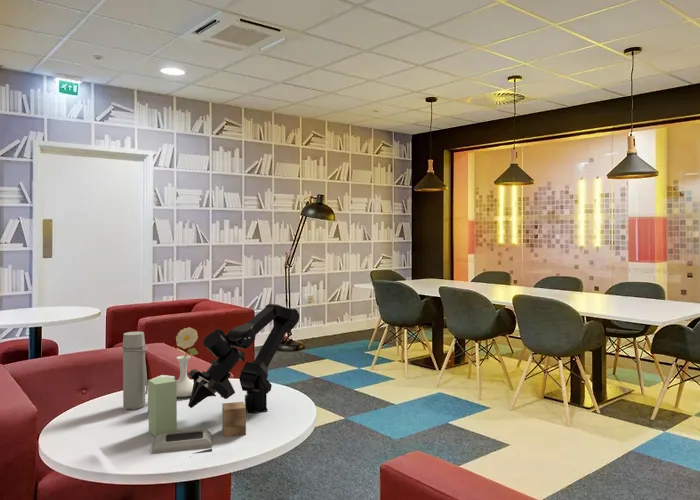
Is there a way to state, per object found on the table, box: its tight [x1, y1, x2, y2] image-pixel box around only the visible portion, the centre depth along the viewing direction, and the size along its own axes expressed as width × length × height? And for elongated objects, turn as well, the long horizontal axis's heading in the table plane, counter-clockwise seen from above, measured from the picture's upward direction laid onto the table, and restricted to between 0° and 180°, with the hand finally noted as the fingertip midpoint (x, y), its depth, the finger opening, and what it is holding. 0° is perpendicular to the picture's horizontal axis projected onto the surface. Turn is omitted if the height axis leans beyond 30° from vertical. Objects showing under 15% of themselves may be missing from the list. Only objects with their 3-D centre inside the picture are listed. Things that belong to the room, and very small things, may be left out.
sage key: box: [147, 377, 178, 438], centre depth 156 cm, size 6×6×15 cm
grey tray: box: [152, 429, 213, 455], centre depth 148 cm, size 10×4×15 cm
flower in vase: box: [175, 326, 199, 398], centre depth 195 cm, size 13×11×25 cm
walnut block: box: [221, 401, 247, 438], centre depth 156 cm, size 6×6×9 cm
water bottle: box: [121, 331, 149, 410], centre depth 182 cm, size 9×8×25 cm
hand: (189, 407), depth 161 cm, fingers closed
